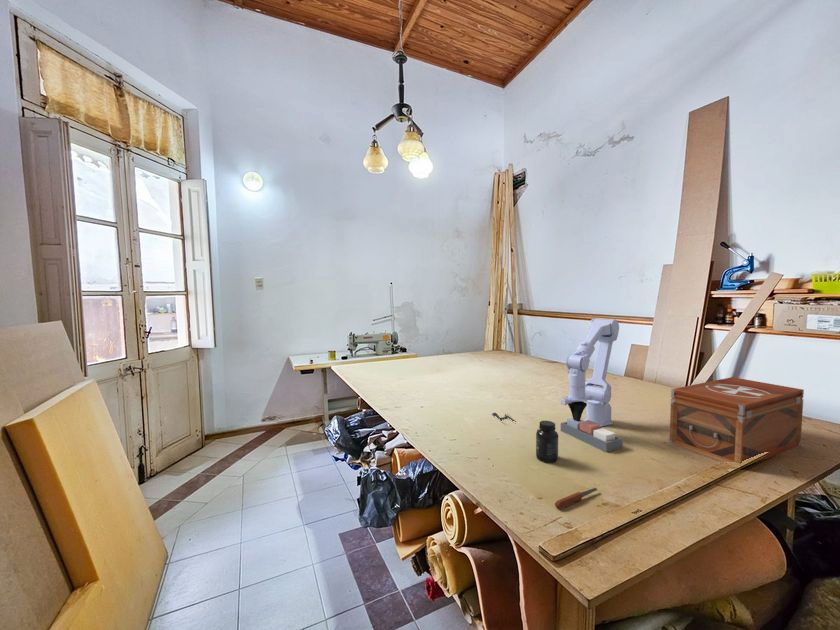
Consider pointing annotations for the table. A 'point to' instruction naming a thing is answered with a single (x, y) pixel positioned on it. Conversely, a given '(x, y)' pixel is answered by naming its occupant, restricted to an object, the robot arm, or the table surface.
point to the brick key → (589, 426)
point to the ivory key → (604, 434)
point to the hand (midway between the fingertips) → (576, 420)
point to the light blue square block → (573, 423)
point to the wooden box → (736, 419)
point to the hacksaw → (502, 417)
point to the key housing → (592, 438)
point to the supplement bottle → (547, 442)
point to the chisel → (572, 498)
